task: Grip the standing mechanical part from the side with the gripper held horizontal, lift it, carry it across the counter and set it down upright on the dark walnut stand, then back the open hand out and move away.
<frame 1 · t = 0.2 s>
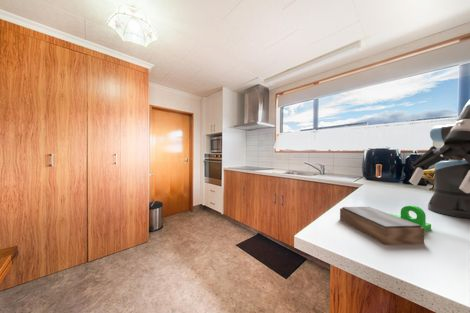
hand: (435, 186, 56), 14 cm above the countertop, tool tilted 35°, fingers open, 13 cm apart
mechanical part: (403, 224, 60), on the countertop
stand: (375, 229, 56), on the countertop
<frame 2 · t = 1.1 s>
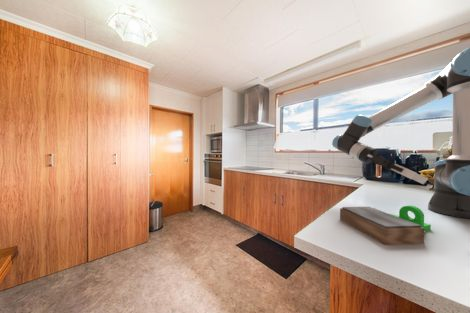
hand: (420, 179, 61), 17 cm above the countertop, tool tilted 65°, fingers open, 13 cm apart
nothing on the countertop moved.
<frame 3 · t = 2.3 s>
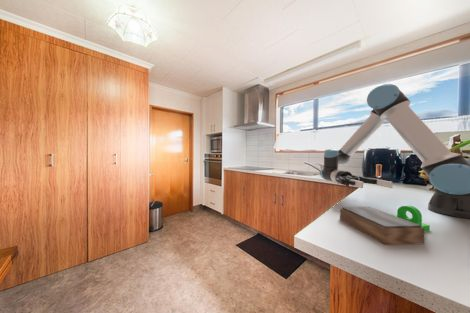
hand: (377, 185, 71), 12 cm above the countertop, tool horizontal, fingers open, 13 cm apart
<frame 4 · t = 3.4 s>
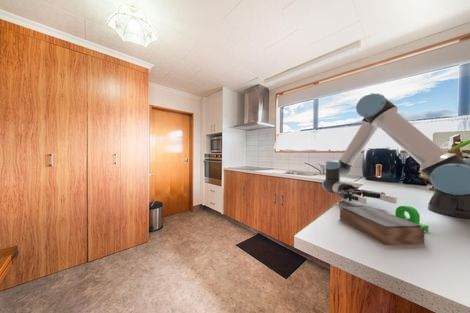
hand: (380, 200, 69), 6 cm above the countertop, tool horizontal, fingers open, 13 cm apart
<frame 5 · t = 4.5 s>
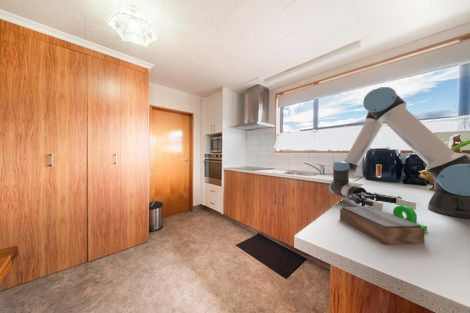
hand: (398, 206, 62), 6 cm above the countertop, tool horizontal, fingers open, 13 cm apart
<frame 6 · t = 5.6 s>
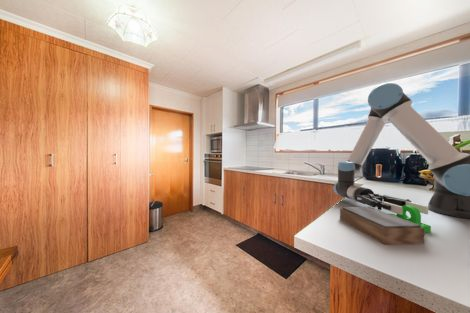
hand: (414, 210, 57), 6 cm above the countertop, tool horizontal, fingers open, 9 cm apart
mechanical part: (402, 225, 60), on the countertop, touching gripper
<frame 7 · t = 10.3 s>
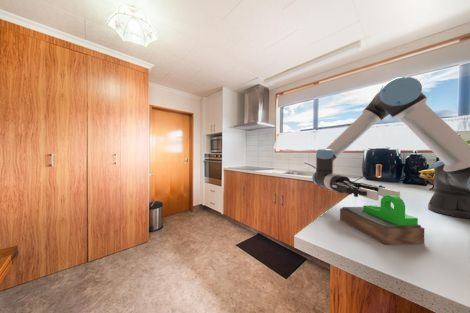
hand: (388, 195, 51), 12 cm above the countertop, tool horizontal, fingers open, 7 cm apart
mechanical part: (387, 217, 53), point 5 cm above the countertop, touching stand
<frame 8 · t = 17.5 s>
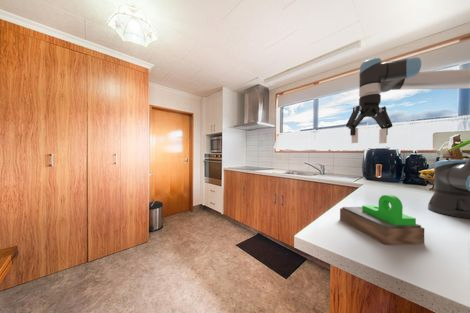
hand: (368, 143, 74), 31 cm above the countertop, tool pointing down, fingers open, 13 cm apart
nothing on the countertop moved.
at the end: mechanical part inside the target area on the stand (2.6 cm from its centre), point 4.8 cm above the stand's base; mechanical part tilted 0°; the gripper is holding nothing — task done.
